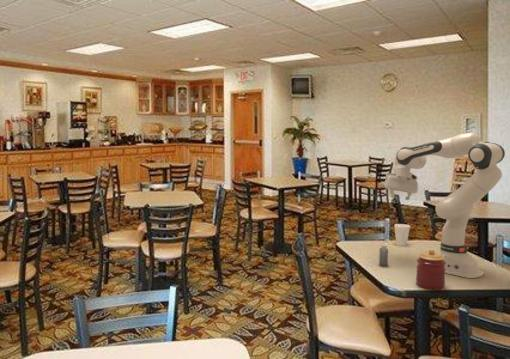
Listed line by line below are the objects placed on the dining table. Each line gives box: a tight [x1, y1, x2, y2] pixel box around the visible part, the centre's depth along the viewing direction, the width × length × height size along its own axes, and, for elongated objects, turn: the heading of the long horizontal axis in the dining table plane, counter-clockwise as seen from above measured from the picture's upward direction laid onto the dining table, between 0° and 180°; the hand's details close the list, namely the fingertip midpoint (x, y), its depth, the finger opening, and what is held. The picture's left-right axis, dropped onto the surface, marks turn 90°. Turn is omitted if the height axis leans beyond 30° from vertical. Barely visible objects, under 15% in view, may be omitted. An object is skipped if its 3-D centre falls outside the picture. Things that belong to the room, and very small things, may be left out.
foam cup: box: [394, 223, 411, 247], centre depth 285 cm, size 10×9×13 cm
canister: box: [415, 248, 446, 290], centre depth 208 cm, size 13×13×18 cm
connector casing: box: [378, 244, 389, 268], centre depth 241 cm, size 7×4×11 cm, turn 168°
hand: (400, 198), depth 250 cm, fingers open, 8 cm apart
